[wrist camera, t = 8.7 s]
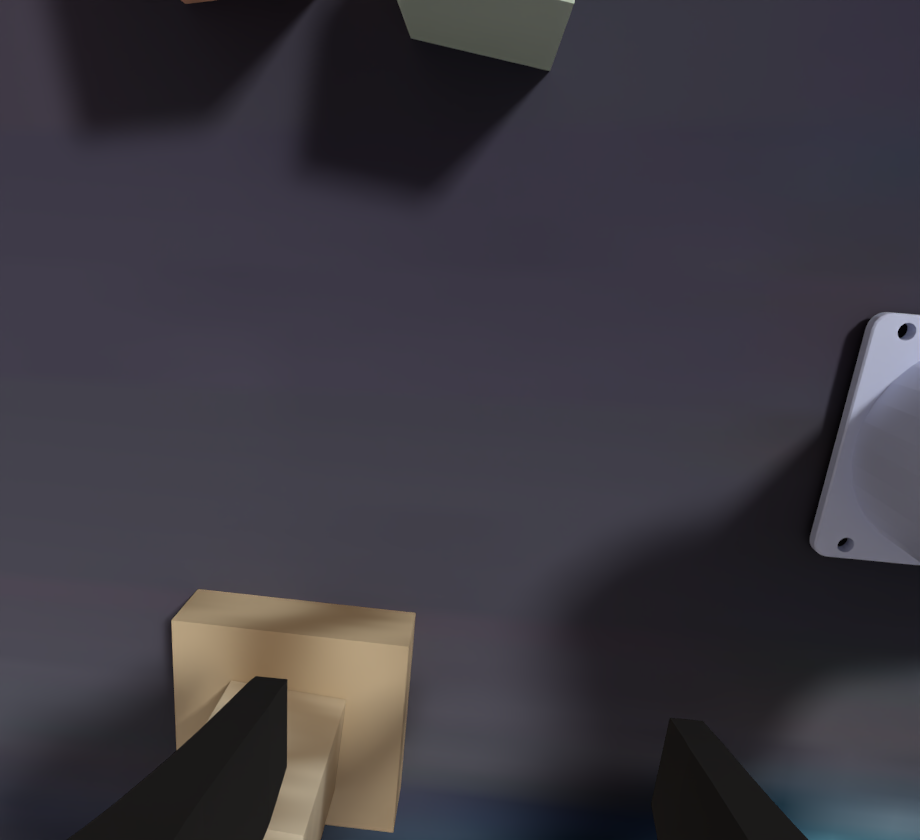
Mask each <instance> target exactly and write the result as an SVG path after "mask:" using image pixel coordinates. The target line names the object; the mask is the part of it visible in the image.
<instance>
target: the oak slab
mask: <svg viewBox="0 0 920 840" xmlns="http://www.w3.org/2000/svg"><path fill="white" fill-rule="evenodd" d="M415 615H416V613H411V612H402V611H393V610H384V609H375V608H366V607H357V606H347V605H338V604H329V603H320V602H311V601H302V600H293V599H283V598H274V597H265V596H256V595H247V594H238V593H229V592H220V591H210V590H201V589H198V590H197V591H196V592H195V593H194V594H193V596H192V597H191V598H190V599H189V600H188V601H187V603H186V604H185V605H184V606H183V607H182V608H181V610H180V611H179V612H178V613H177V614H176V615H175V617H174V618H173V619H172V620H171V624H172V649H173V674H174V699H175V724H176V749H177V750H178V749H179V748H180V747H181V746H182V745H183V744H184V743H185V742H186V741H188V740H189V739H190V738H191V737H192V736H193V735H194V734H195V733H196V732H197V731H198V730H200V729H201V728H202V727H203V726H204V725H205V724H206V723H207V721H208V719H209V717H210V716H211V714H212V712H213V711H214V709H215V707H216V706H217V704H218V702H219V700H220V699H221V697H222V695H223V694H224V692H225V690H226V689H227V687H228V685H229V684H230V682H231V681H237V682H243V683H248V682H249V681H250V680H251V679H253V678H254V677H255V676H260V677H270V678H280V679H287V690H291V691H297V692H303V693H309V694H315V695H321V696H327V697H333V698H339V699H345V700H346V706H345V714H344V722H343V729H342V737H341V745H340V753H339V760H338V768H337V776H336V783H335V791H334V794H333V798H332V801H331V805H330V808H329V812H328V815H327V819H326V822H325V825H333V826H341V827H350V828H359V829H367V830H376V831H384V832H393V831H394V825H395V818H396V812H397V806H398V800H399V794H400V788H401V777H402V765H403V754H404V742H405V731H406V719H407V708H408V696H409V685H410V673H411V661H412V650H413V638H414V627H415Z"/></svg>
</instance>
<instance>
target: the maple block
mask: <svg viewBox="0 0 920 840" xmlns="http://www.w3.org/2000/svg"><path fill="white" fill-rule="evenodd" d="M246 684H247V683H243V682H237V681H231V682H230V684H229V685H228V687H227V689H226V690H225V692H224V694H223V695H222V697H221V699H220V700H219V702H218V704H217V706H216V707H215V709H214V711H213V712H212V714H211V716H210V717H209V719H208V721H209V720H210V719H211V718H212V717H213V716H214V715H215V714H216V713H217V712H218V711H219V710H220V709H221V708H222V707H223V706H224V705H226V704H227V703H228V702H229V701H230V700H231V699H232V698H233V697H234V696H235V695H236V694H237V693H238V692H239V691H240V690H241V689H242V688H243V687H244V686H245V685H246ZM345 706H346V700H345V699H339V698H333V697H327V696H321V695H315V694H309V693H303V692H297V691H291V690H287V768H286V772H285V775H284V778H283V782H282V785H281V788H280V792H279V795H278V798H277V802H276V805H275V808H274V811H273V814H272V817H271V821H270V824H269V826H268V829H267V831H266V834H265V836H264V839H263V840H321V837H322V833H323V830H324V826H325V822H326V819H327V815H328V812H329V808H330V805H331V801H332V798H333V794H334V791H335V783H336V776H337V768H338V760H339V753H340V745H341V737H342V729H343V722H344V714H345ZM208 721H207V722H208Z"/></svg>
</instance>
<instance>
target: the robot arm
mask: <svg viewBox="0 0 920 840" xmlns="http://www.w3.org/2000/svg"><path fill="white" fill-rule="evenodd" d="M905 323H906V325H907V332H906V334H905V335H904V336H903V337H901V338H899V337H898V330H899V328H900V326H902V325H903V324H905ZM843 538H847V541H846V543H845V544H844V545H842V546H838V543H839V541H840V540H841V539H843ZM809 543H810V545H811V547H812V548H813V549H814V550H815V551H816V552H817V553H819V554H820V555H823V556H826V557H837V558H847V559H858V560H868V561H879V562H889V563H900V564H910V565H920V315H915V314H904V313H892V312H883V313H879V314H877V315H875V316H873V317H872V318H871V319H870V320H869V322H868V324H867V326H866V329H865V332H864V336H863V340H862V344H861V347H860V351H859V355H858V359H857V362H856V366H855V370H854V373H853V377H852V381H851V385H850V388H849V392H848V396H847V400H846V403H845V407H844V411H843V415H842V418H841V422H840V426H839V430H838V433H837V437H836V441H835V444H834V448H833V452H832V456H831V459H830V463H829V467H828V471H827V474H826V478H825V482H824V486H823V489H822V493H821V497H820V501H819V504H818V508H817V512H816V516H815V519H814V523H813V527H812V530H811V534H810V542H809ZM286 768H287V679H280V678H270V677H260V676H255V677H254V678H253V679H251V680H250V681H249V682H248V683H247V684H246V685H245V686H244V687H243V688H242V689H241V690H240V691H239V692H238V693H237V694H236V695H235V696H234V697H233V698H232V699H231V700H230V701H229V702H228V703H227V704H226V705H224V706H223V707H222V708H221V709H220V710H219V711H218V712H217V713H216V714H215V715H214V716H213V717H212V718H211V719H210V720H209V721H208V722H207V723H206V724H205V725H204V726H203V727H202V728H201V729H200V730H198V731H197V732H196V733H195V734H194V735H193V736H192V737H191V738H190V739H189V740H188V741H186V742H185V743H184V744H183V745H182V746H181V747H180V748H179V749H178V750H177V751H176V752H174V753H173V754H172V755H171V756H170V757H169V758H168V759H167V760H166V761H165V762H163V763H162V764H161V765H160V766H159V767H158V768H156V769H155V770H154V771H153V772H152V773H151V774H149V775H148V776H147V777H146V778H145V779H143V780H142V781H141V782H140V783H139V784H137V785H136V786H135V787H134V788H133V789H131V790H130V791H129V792H128V793H127V794H126V795H124V796H123V797H122V798H121V799H120V800H118V801H117V802H116V803H115V804H113V805H112V806H111V807H110V808H108V809H107V810H106V811H104V812H103V813H102V814H101V815H99V816H98V817H97V818H95V819H94V820H93V821H91V822H90V823H89V824H88V825H86V826H85V827H84V828H82V829H81V830H79V831H78V832H77V833H75V834H74V835H73V836H71V837H70V838H69V839H67V840H263V839H264V836H265V834H266V831H267V829H268V826H269V824H270V821H271V817H272V814H273V811H274V808H275V805H276V802H277V798H278V795H279V792H280V788H281V785H282V782H283V778H284V775H285V772H286ZM651 806H652V811H653V817H654V822H655V828H656V833H657V839H658V840H808V839H807V838H806V837H805V836H804V835H803V834H802V832H801V831H800V830H799V829H798V828H797V827H796V826H795V825H794V824H793V823H792V822H791V821H790V820H789V819H788V817H787V816H786V815H785V814H784V813H783V812H782V811H781V810H780V809H779V808H778V806H777V805H776V804H775V803H774V802H773V801H772V800H771V799H770V798H769V796H768V795H767V794H766V793H765V792H764V791H763V790H762V789H761V787H760V786H759V785H758V784H757V783H756V782H755V781H754V779H753V778H752V777H751V776H750V775H749V774H748V773H747V771H746V770H745V769H744V768H743V767H742V766H741V765H740V763H739V762H738V761H737V760H736V759H735V758H734V756H733V755H732V754H731V753H730V752H729V751H728V749H727V748H726V747H725V746H724V745H723V744H722V742H721V741H720V740H719V739H718V738H717V737H716V735H715V734H714V733H713V732H712V731H711V730H710V729H709V728H708V726H707V725H706V724H705V723H704V722H703V721H696V720H686V719H676V718H670V720H669V724H668V729H667V734H666V738H665V743H664V747H663V752H662V757H661V761H660V766H659V770H658V775H657V780H656V784H655V789H654V794H653V798H652V803H651Z"/></svg>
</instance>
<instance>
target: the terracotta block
mask: <svg viewBox="0 0 920 840" xmlns="http://www.w3.org/2000/svg"><path fill="white" fill-rule="evenodd" d="M181 1H182V2H183V3H185V4H191V3H199V2H207V1H215V0H181Z"/></svg>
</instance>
